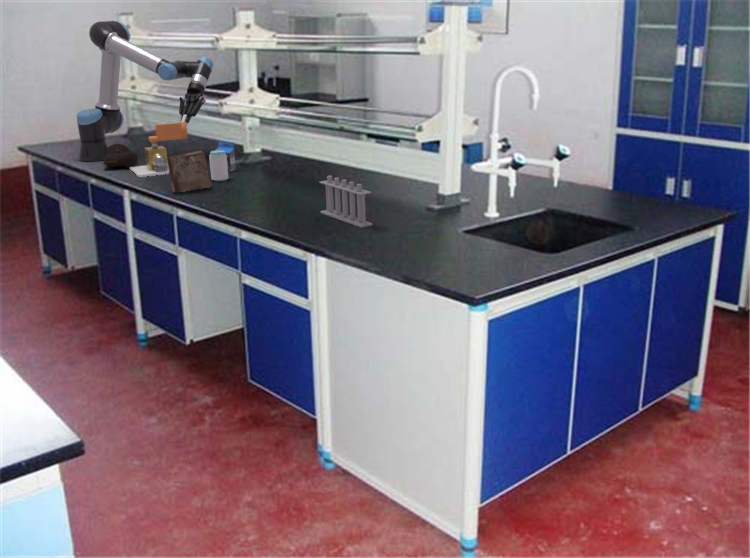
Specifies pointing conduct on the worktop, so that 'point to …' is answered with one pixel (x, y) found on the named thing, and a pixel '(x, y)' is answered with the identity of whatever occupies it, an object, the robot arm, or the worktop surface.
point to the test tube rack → (345, 202)
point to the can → (218, 165)
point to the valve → (156, 158)
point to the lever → (170, 132)
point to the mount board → (146, 171)
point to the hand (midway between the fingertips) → (182, 127)
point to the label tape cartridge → (228, 154)
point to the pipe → (120, 156)
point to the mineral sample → (188, 171)
